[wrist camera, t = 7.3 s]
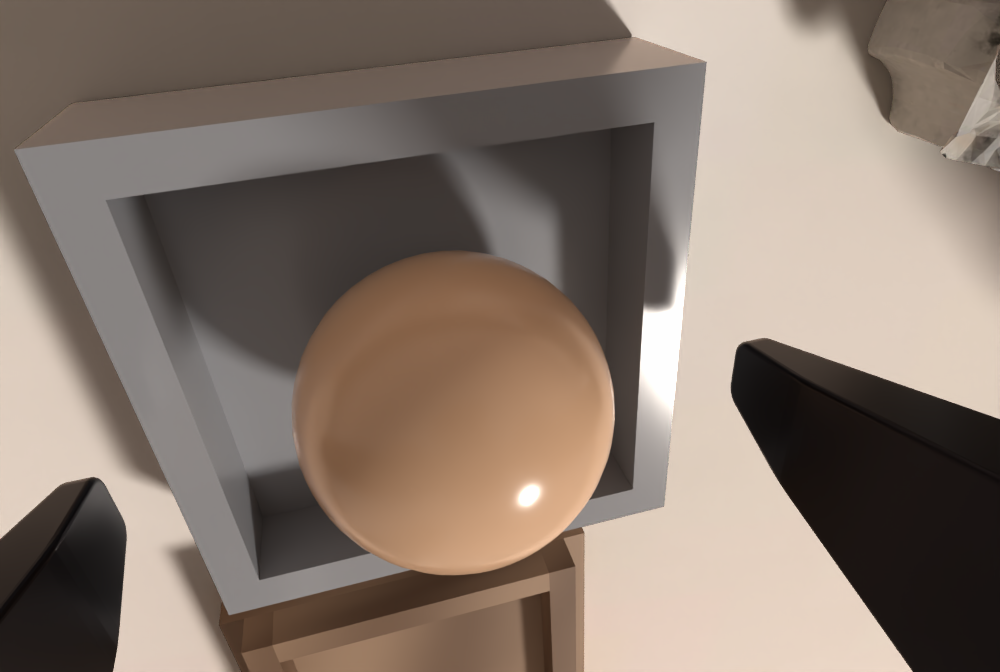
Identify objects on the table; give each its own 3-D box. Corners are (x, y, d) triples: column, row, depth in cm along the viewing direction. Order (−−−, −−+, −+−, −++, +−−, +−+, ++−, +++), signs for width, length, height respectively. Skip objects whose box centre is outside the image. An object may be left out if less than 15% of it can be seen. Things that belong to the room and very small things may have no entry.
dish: (634, 37, 11) (706, 61, 9) (619, 434, 15) (664, 506, 13) (72, 103, 9) (13, 150, 7) (238, 520, 14) (229, 615, 12)
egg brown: (537, 181, 11) (695, 312, 7) (545, 402, 13) (666, 582, 10) (246, 236, 10) (260, 423, 6) (314, 465, 12) (351, 697, 9)
